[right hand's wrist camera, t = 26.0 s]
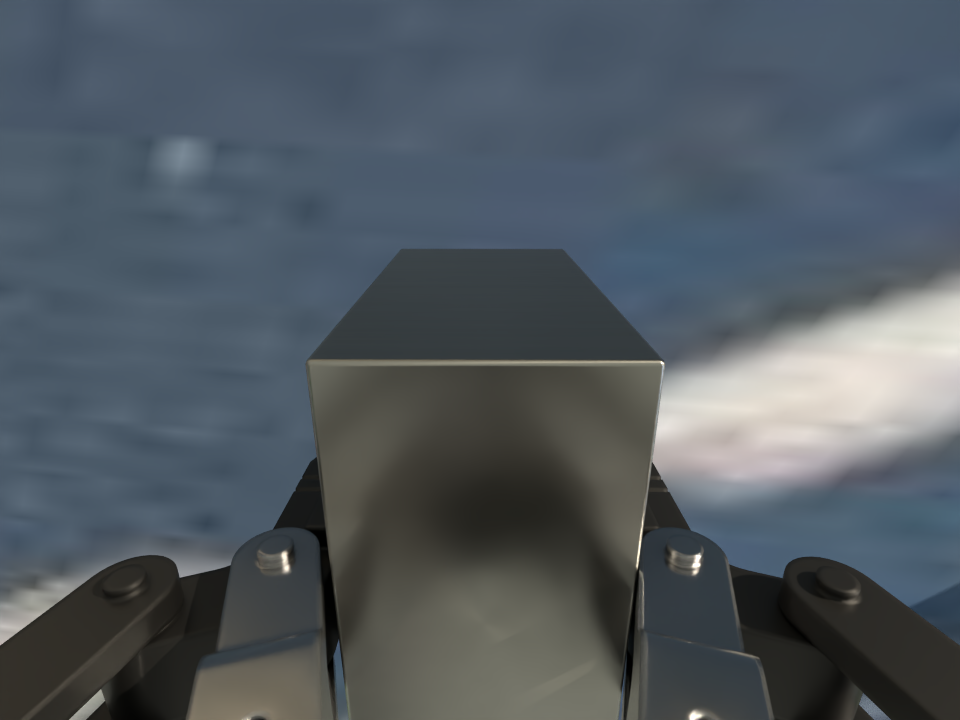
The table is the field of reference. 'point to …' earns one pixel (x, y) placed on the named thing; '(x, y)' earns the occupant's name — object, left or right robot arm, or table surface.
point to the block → (484, 486)
